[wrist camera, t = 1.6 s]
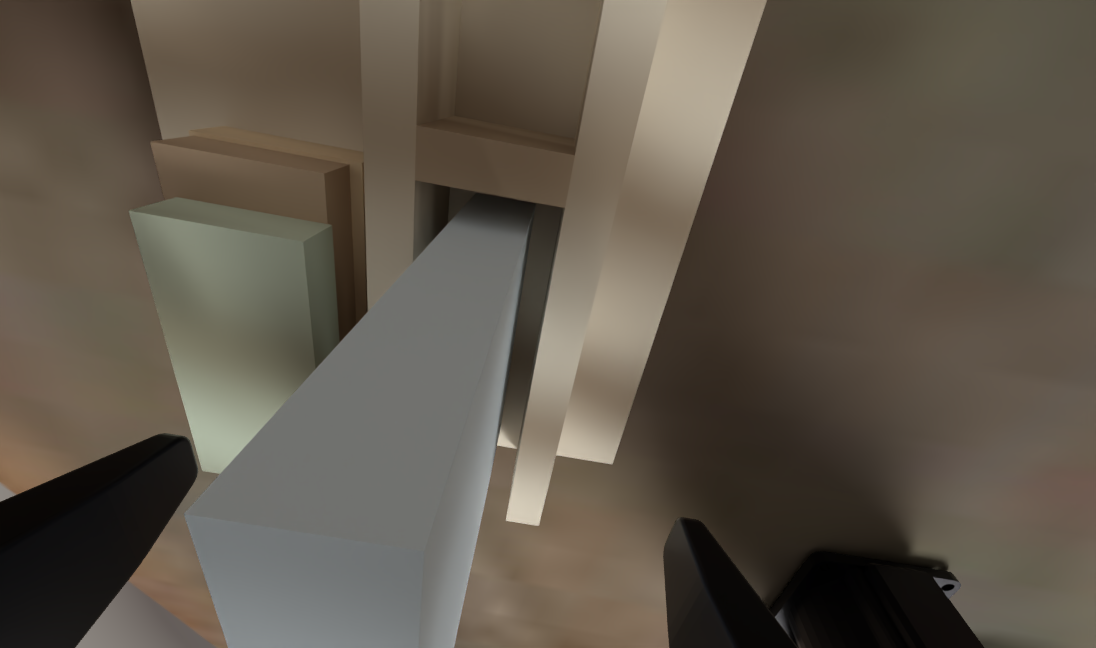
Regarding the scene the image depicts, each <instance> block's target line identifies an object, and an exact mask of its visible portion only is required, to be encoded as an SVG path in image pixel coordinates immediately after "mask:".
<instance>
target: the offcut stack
mask: <svg viewBox="0 0 1096 648" xmlns="http://www.w3.org/2000/svg"><path fill="white" fill-rule="evenodd" d="M188 131H189V136H187V137H180V138H172V139H164V140H157V141H150V143H151V147H152V151H153V155H154V159H155V164H156V168H157V172H158V176H159V180H160V184H161V188H162V193H163V197H164V201H161V202H157V203H154V204H150V205H147V206H143V207H140V208H136V209H133V210H129V214H130V217H131V221H132V224H133V228H134V231H135V235H136V238H137V242H138V246H139V249H140V253H141V256H142V260H143V263H144V267H145V270H146V274H147V277H148V281H149V284H150V288H151V291H152V295H153V298H154V302H155V305H156V309H157V313H158V316H159V320H160V323H161V327H162V330H163V334H164V337H165V341H166V344H167V348H168V351H169V355H170V358H171V362H172V365H173V369H174V372H175V376H176V380H177V383H178V387H179V390H180V394H181V397H182V401H183V404H184V408H185V411H186V415H187V418H188V422H189V425H190V429H191V432H192V436H193V439H194V443H195V447H196V450H197V454H198V457H199V461H200V464H201V468H202V471H207V472H213V473H219V474H221V473H222V471H223V470H224V469H225V468H226V467H227V466H228V465H229V464H230V463H231V462H232V460H233V459H234V458H235V457H236V456H237V455H238V454H239V453H240V452H241V451H242V449H243V448H244V447H245V446H246V445H247V444H248V443H249V442H250V441H251V440H252V438H253V437H254V436H255V435H256V434H257V433H258V432H259V431H260V430H261V429H262V427H263V426H264V425H265V424H266V423H267V422H268V421H269V420H270V419H271V418H272V417H273V415H274V414H275V413H276V412H277V411H278V410H279V409H280V408H281V407H282V406H283V404H284V403H285V402H286V401H287V400H288V399H289V398H290V397H291V396H292V395H293V393H294V392H295V391H296V390H297V389H298V388H299V387H300V386H301V385H302V384H303V382H304V381H305V380H306V379H307V378H308V377H309V376H310V375H311V374H312V373H313V371H314V370H315V369H316V368H317V367H318V366H319V365H320V364H321V363H322V362H323V360H324V359H325V358H326V357H327V356H328V355H329V354H330V353H331V352H332V351H333V349H334V348H335V347H336V346H337V345H338V344H339V343H340V342H341V341H342V340H343V339H344V337H345V336H346V335H347V334H348V333H349V332H350V331H351V330H352V329H353V328H354V326H355V325H356V324H357V323H358V322H359V321H360V320H361V319H362V318H363V317H364V315H365V314H366V313H367V312H368V301H367V264H366V227H365V190H364V153H363V152H361V151H356V150H350V149H345V148H340V147H334V146H329V145H324V144H318V143H313V142H307V141H302V140H297V139H291V138H286V137H281V136H275V135H270V134H265V133H259V132H254V131H249V130H243V129H238V128H233V127H227V126H220V127H212V128H203V129H194V130H188Z"/></svg>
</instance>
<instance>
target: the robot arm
mask: <svg viewBox="0 0 1096 648" xmlns="http://www.w3.org/2000/svg"><path fill="white" fill-rule="evenodd" d="M197 473H198V466H197V463H196V459H195V456H194V452H193V449H192V445H191V442H190V440H189V439H188V438H187V437H185V436H180V435H174V434H167V433H163V434H158V435H155V436H153V437H150V438H148V439H146V440H143V441H141V442H139V443H136V444H134V445H132V446H129V447H127V448H125V449H122V450H120V451H118V452H115V453H113V454H111V455H108V456H106V457H104V458H101V459H99V460H97V461H94V462H92V463H90V464H87V465H85V466H83V467H80V468H78V469H76V470H73V471H71V472H69V473H66V474H64V475H62V476H59V477H57V478H55V479H52V480H50V481H48V482H45V483H43V484H41V485H38V486H36V487H34V488H31V489H29V490H27V491H24V492H22V493H20V494H17V495H15V496H13V497H10V498H8V499H6V500H4V501H1V502H0V648H75V647H76V646H77V645H78V643H79V642H80V640H82V638H83V637H84V636H85V634H86V633H87V632H88V631H89V629H90V628H91V626H92V625H93V624H94V623H95V622H96V620H97V619H98V618H99V617H100V615H101V614H102V613H103V611H104V610H105V609H106V608H107V607H108V605H109V604H110V603H111V601H112V600H113V599H114V598H115V596H116V595H117V594H118V593H119V591H120V590H121V589H122V587H123V586H124V585H125V584H126V582H127V581H128V580H129V579H130V577H131V576H132V575H133V573H134V572H135V571H136V569H137V568H138V567H139V565H140V564H141V562H142V561H143V559H144V558H145V557H146V555H147V554H148V552H149V551H150V549H151V548H152V546H153V545H154V543H155V542H156V540H157V539H158V537H159V536H160V534H161V532H162V531H163V529H164V528H165V526H166V525H167V523H168V522H169V520H170V519H171V517H172V516H173V514H174V513H175V511H176V510H177V508H178V506H179V505H180V503H181V502H182V500H183V499H184V497H185V496H186V494H187V493H188V491H189V490H190V488H191V487H192V485H193V483H194V482H195V480H196V477H197ZM663 558H664V575H665V591H666V607H667V623H668V637H669V648H984V647H983V645H982V644H981V643H980V641H979V640H978V638H977V637H976V636H975V634H974V633H973V632H972V630H971V629H970V627H969V626H968V625H967V623H966V622H965V621H964V619H963V618H962V616H961V615H960V614H959V612H958V611H957V610H956V608H955V607H954V606H953V604H952V603H951V601H950V600H949V598H950V597H951V596H952V595H953V594H955V593H956V592H957V591H958V590H959V588H960V587H961V584H960V582H959V581H958V580H957V579H956V577H955V576H954V575H953V574H952V573H951V572H948V571H941V570H935V569H929V568H923V567H916V566H910V565H904V564H898V563H891V562H885V561H879V560H873V559H867V558H860V557H854V556H848V555H842V554H835V553H829V552H817V553H814V554H812V555H811V556H809V557H808V559H807V560H806V562H805V563H804V564H803V566H802V567H801V568H800V570H799V571H798V573H797V574H796V575H795V577H794V578H793V579H792V581H791V582H790V584H789V585H788V586H787V588H786V589H785V590H784V592H783V593H782V595H781V596H780V597H779V599H778V600H777V601H776V603H775V604H774V606H773V607H772V608H771V610H769V609H768V608H767V606H766V605H765V604H764V602H763V601H762V600H761V599H760V597H759V596H758V595H757V593H756V592H755V591H754V589H753V588H752V587H751V585H750V584H749V583H748V581H747V580H746V579H745V578H744V576H743V575H742V574H741V572H740V571H739V570H738V568H737V567H736V566H735V564H734V563H733V562H732V561H731V559H730V558H729V557H728V555H727V554H726V553H725V551H724V550H723V549H722V547H721V546H720V545H719V543H718V542H717V541H716V540H715V538H714V537H713V536H712V534H711V533H710V532H709V530H708V529H707V528H706V526H705V525H704V524H703V523H702V522H701V521H699V520H696V519H690V518H684V517H680V518H678V519H677V520H676V522H675V524H674V526H673V528H672V530H671V532H670V534H669V536H668V539H667V541H666V543H665V546H664V554H663Z"/></svg>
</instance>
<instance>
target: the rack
mask: <svg viewBox="0 0 1096 648" xmlns="http://www.w3.org/2000/svg"><path fill="white" fill-rule="evenodd" d="M766 1H767V0H131V4H132V9H133V13H134V17H135V22H136V26H137V30H138V35H139V39H140V44H141V48H142V52H143V57H144V61H145V65H146V70H147V74H148V78H149V83H150V87H151V92H152V96H153V100H154V105H155V109H156V113H157V118H158V122H159V126H160V131H161V135H162V140H164V139H172V138H180V137H187V136H189V131H188V130H194V129H203V128H212V127H220V126H227V127H233V128H238V129H243V130H249V131H254V132H259V133H265V134H270V135H275V136H281V137H286V138H291V139H297V140H302V141H307V142H313V143H318V144H324V145H329V146H334V147H340V148H345V149H350V150H356V151H361V152H363V153H364V190H365V227H366V264H367V301H368V311H369V310H370V309H371V308H372V307H373V306H374V304H375V303H376V302H377V301H378V300H379V299H380V298H381V297H382V296H383V295H384V293H385V292H386V291H387V290H388V289H389V288H390V287H391V286H392V285H393V284H394V282H395V281H396V280H397V279H398V278H399V277H400V276H401V275H402V274H403V273H404V271H405V270H406V269H407V268H408V267H409V266H410V265H411V264H412V263H413V262H414V261H415V259H416V258H417V257H418V256H419V255H420V254H421V253H422V252H423V251H424V250H425V248H426V247H427V246H428V245H429V244H430V243H431V242H432V241H433V240H434V239H435V237H436V236H437V235H438V234H439V233H440V232H441V231H442V230H443V229H444V228H445V226H446V225H447V224H448V223H449V222H450V221H451V220H452V219H453V218H454V217H455V215H456V214H457V213H458V212H459V211H460V210H461V209H462V208H463V207H464V206H465V204H466V203H467V202H468V201H469V200H470V199H471V198H472V197H473V196H474V195H475V194H476V193H480V194H486V195H491V196H497V197H502V198H507V199H513V200H518V201H524V202H529V203H534V204H536V206H535V212H534V219H533V225H532V231H531V238H530V244H529V250H528V257H527V263H526V269H525V276H524V282H523V289H522V295H521V301H520V308H519V314H518V320H517V327H516V333H515V340H514V346H513V352H512V359H511V365H510V371H509V378H508V384H507V390H506V397H505V403H504V410H503V416H502V422H501V429H500V434H499V438H498V443H497V445H498V446H504V447H510V448H516V449H517V452H516V459H515V465H514V472H513V478H512V484H511V491H510V497H509V504H508V510H507V517H506V521H511V522H518V523H524V524H530V525H537V526H539V522H540V518H541V514H542V510H543V506H544V502H545V498H546V494H547V490H548V486H549V482H550V478H551V473H552V469H553V465H554V461H555V457H556V455H558V456H564V457H570V458H576V459H583V460H589V461H595V462H601V463H607V464H613V461H614V458H615V455H616V452H617V449H618V446H619V443H620V440H621V437H622V434H623V431H624V428H625V425H626V422H627V419H628V416H629V413H630V410H631V407H632V404H633V401H634V398H635V395H636V392H637V389H638V386H639V383H640V380H641V377H642V374H643V371H644V368H645V365H646V362H647V359H648V356H649V353H650V350H651V347H652V344H653V341H654V338H655V335H656V332H657V329H658V326H659V323H660V320H661V317H662V314H663V311H664V308H665V305H666V302H667V299H668V296H669V293H670V290H671V287H672V284H673V281H674V278H675V275H676V272H677V269H678V266H679V263H680V260H681V257H682V254H683V251H684V248H685V245H686V242H687V239H688V236H689V233H690V230H691V227H692V224H693V221H694V218H695V215H696V212H697V209H698V206H699V203H700V200H701V197H702V194H703V191H704V187H705V184H706V181H707V178H708V175H709V172H710V169H711V166H712V163H713V160H714V157H715V154H716V151H717V148H718V145H719V142H720V139H721V136H722V133H723V130H724V127H725V124H726V121H727V118H728V115H729V112H730V109H731V106H732V103H733V100H734V97H735V94H736V91H737V88H738V85H739V82H740V79H741V76H742V73H743V70H744V67H745V64H746V61H747V58H748V55H749V52H750V49H751V46H752V43H753V40H754V37H755V34H756V31H757V28H758V25H759V22H760V19H761V16H762V13H763V10H764V7H765V4H766Z"/></svg>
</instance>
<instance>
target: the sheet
mask: <svg viewBox="0 0 1096 648" xmlns="http://www.w3.org/2000/svg"><path fill="white" fill-rule="evenodd" d="M535 206H536V204H534V203H529V202H524V201H518V200H513V199H507V198H502V197H497V196H491V195H486V194H480V193H476V194H475V195H474V196H473V197H472V198H471V199H470V200H469V201H468V202H467V203H466V204H465V206H464V207H463V208H462V209H461V210H460V211H459V212H458V213H457V214H456V215H455V217H454V218H453V219H452V220H451V221H450V222H449V223H448V224H447V225H446V226H445V228H444V229H443V230H442V231H441V232H440V233H439V234H438V235H437V236H436V237H435V239H434V240H433V241H432V242H431V243H430V244H429V245H428V246H427V247H426V248H425V250H424V251H423V252H422V253H421V254H420V255H419V256H418V257H417V258H416V259H415V261H414V262H413V263H412V264H411V265H410V266H409V267H408V268H407V269H406V270H405V271H404V273H403V274H402V275H401V276H400V277H399V278H398V279H397V280H396V281H395V282H394V284H393V285H392V286H391V287H390V288H389V289H388V290H387V291H386V292H385V293H384V295H383V296H382V297H381V298H380V299H379V300H378V301H377V302H376V303H375V304H374V306H373V307H372V308H371V309H370V310H369V311H368V312H367V313H366V314H365V315H364V317H363V318H362V319H361V320H360V321H359V322H358V323H357V324H356V325H355V326H354V328H353V329H352V330H351V331H350V332H349V333H348V334H347V335H346V336H345V337H344V339H343V340H342V341H341V342H340V343H339V344H338V345H337V346H336V347H335V348H334V349H333V351H332V352H331V353H330V354H329V355H328V356H327V357H326V358H325V359H324V360H323V362H322V363H321V364H320V365H319V366H318V367H317V368H316V369H315V370H314V371H313V373H312V374H311V375H310V376H309V377H308V378H307V379H306V380H305V381H304V382H303V384H302V385H301V386H300V387H299V388H298V389H297V390H296V391H295V392H294V393H293V395H292V396H291V397H290V398H289V399H288V400H287V401H286V402H285V403H284V404H283V406H282V407H281V408H280V409H279V410H278V411H277V412H276V413H275V414H274V415H273V417H272V418H271V419H270V420H269V421H268V422H267V423H266V424H265V425H264V426H263V427H262V429H261V430H260V431H259V432H258V433H257V434H256V435H255V436H254V437H253V438H252V440H251V441H250V442H249V443H248V444H247V445H246V446H245V447H244V448H243V449H242V451H241V452H240V453H239V454H238V455H237V456H236V457H235V458H234V459H233V460H232V462H231V463H230V464H229V465H228V466H227V467H226V468H225V469H224V470H223V471H222V473H221V474H220V475H219V476H218V477H217V478H216V479H215V480H214V481H213V482H212V484H211V485H210V486H209V487H208V488H207V489H206V490H205V491H204V492H203V493H202V494H201V496H200V497H199V498H198V499H197V500H196V501H195V502H194V503H193V504H192V505H191V507H190V508H189V509H188V510H187V511H186V512H185V513H184V516H185V519H186V522H187V525H188V528H189V531H190V534H191V537H192V540H193V543H194V546H195V549H196V552H197V555H198V558H199V561H200V564H201V567H202V570H203V573H204V576H205V579H206V582H207V585H208V588H209V591H210V594H211V597H212V600H213V603H214V606H215V609H216V612H217V615H218V618H219V621H220V624H221V627H222V630H223V633H224V636H225V639H226V642H227V645H228V648H454V645H455V640H456V635H457V631H458V626H459V621H460V616H461V612H462V607H463V602H464V598H465V593H466V588H467V584H468V579H469V574H470V570H471V565H472V560H473V556H474V551H475V546H476V541H477V537H478V532H479V527H480V523H481V518H482V513H483V509H484V504H485V499H486V495H487V490H488V485H489V481H490V476H491V471H492V466H493V462H494V457H495V452H496V448H497V443H498V438H499V434H500V429H501V422H502V416H503V410H504V403H505V397H506V390H507V384H508V378H509V371H510V365H511V359H512V352H513V346H514V340H515V333H516V327H517V320H518V314H519V308H520V301H521V295H522V289H523V282H524V276H525V269H526V263H527V257H528V250H529V244H530V238H531V231H532V225H533V219H534V212H535Z"/></svg>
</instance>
